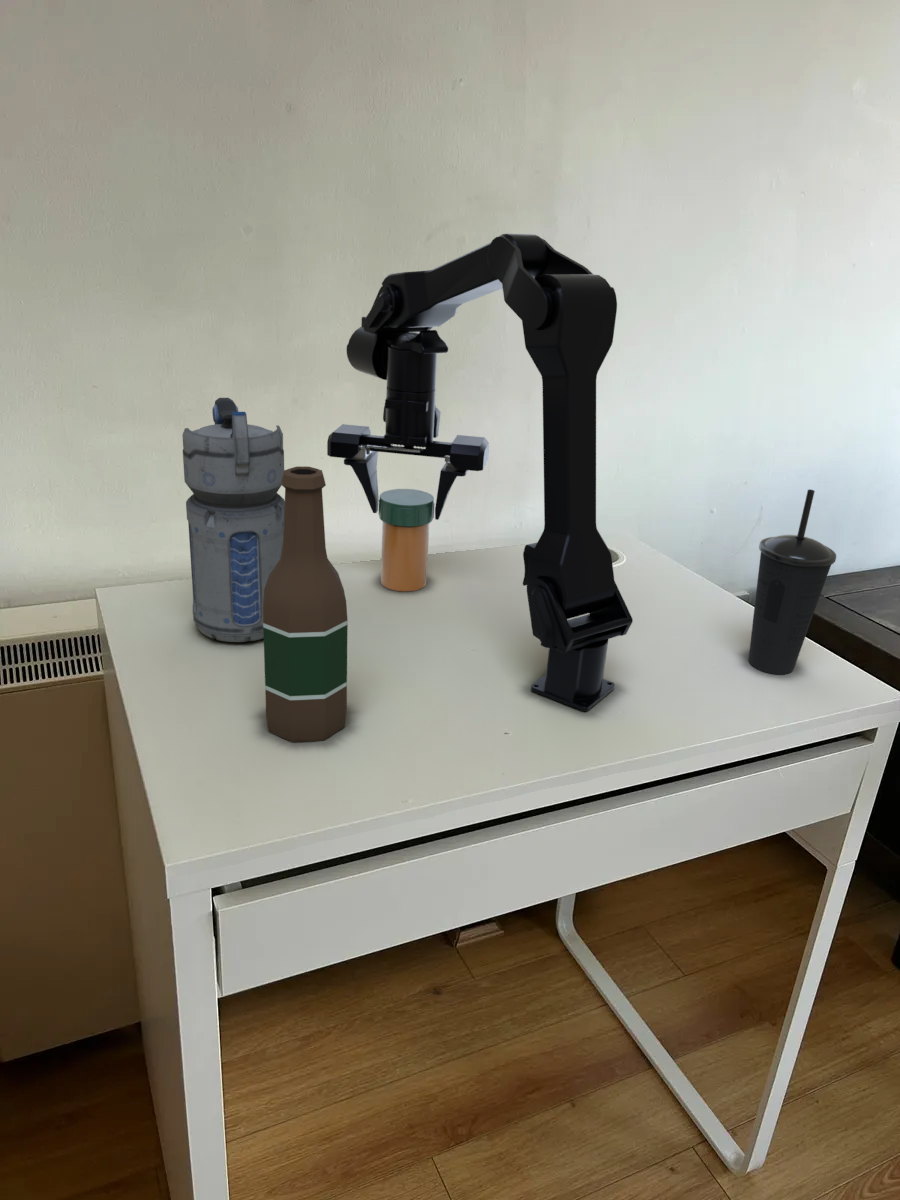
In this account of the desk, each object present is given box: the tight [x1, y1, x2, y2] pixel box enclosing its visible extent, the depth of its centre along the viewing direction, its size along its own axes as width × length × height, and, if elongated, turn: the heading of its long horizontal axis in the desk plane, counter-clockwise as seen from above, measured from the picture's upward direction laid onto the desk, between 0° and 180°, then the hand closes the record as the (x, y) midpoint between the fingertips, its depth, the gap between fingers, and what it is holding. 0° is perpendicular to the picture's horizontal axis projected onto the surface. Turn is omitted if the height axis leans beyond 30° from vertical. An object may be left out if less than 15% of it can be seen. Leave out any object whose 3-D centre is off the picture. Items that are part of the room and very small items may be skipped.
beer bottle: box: [263, 466, 349, 743], centre depth 78 cm, size 8×8×24 cm
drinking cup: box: [748, 489, 837, 675], centre depth 95 cm, size 8×8×20 cm
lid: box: [378, 488, 435, 527], centre depth 111 cm, size 7×7×3 cm
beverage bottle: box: [181, 397, 285, 643], centre depth 96 cm, size 10×13×25 cm
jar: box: [380, 520, 430, 592], centre depth 113 cm, size 6×6×11 cm
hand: (406, 515), depth 111 cm, fingers open, 7 cm apart
